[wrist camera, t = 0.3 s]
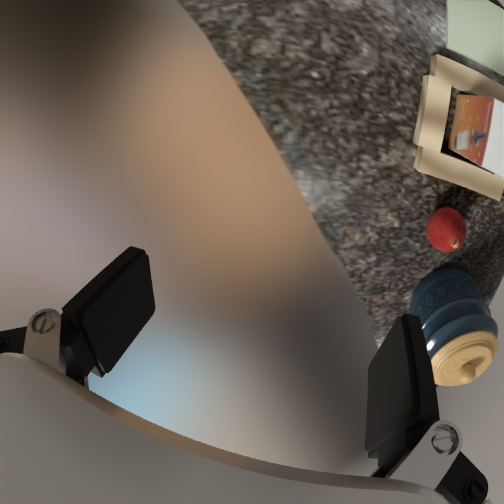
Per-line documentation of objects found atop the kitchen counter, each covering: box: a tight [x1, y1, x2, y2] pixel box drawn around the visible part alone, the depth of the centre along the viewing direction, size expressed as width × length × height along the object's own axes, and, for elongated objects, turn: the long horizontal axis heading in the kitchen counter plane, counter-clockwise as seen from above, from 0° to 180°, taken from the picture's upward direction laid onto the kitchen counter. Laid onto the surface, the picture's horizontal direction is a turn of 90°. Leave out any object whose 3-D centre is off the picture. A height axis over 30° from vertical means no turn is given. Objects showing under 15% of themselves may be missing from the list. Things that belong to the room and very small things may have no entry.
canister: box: [410, 267, 498, 386], centre depth 32 cm, size 13×13×18 cm
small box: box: [448, 94, 504, 177], centre depth 22 cm, size 8×6×10 cm
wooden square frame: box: [413, 54, 504, 201], centre depth 25 cm, size 16×16×2 cm
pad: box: [446, 0, 504, 77], centre depth 18 cm, size 12×12×1 cm
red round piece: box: [426, 207, 466, 252], centre depth 31 cm, size 6×6×8 cm
